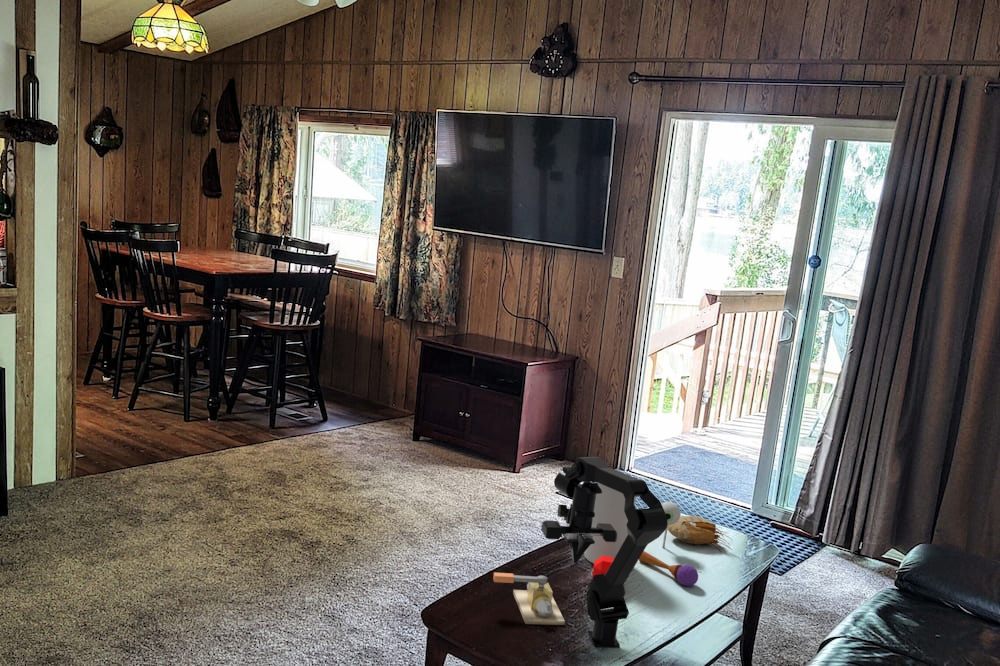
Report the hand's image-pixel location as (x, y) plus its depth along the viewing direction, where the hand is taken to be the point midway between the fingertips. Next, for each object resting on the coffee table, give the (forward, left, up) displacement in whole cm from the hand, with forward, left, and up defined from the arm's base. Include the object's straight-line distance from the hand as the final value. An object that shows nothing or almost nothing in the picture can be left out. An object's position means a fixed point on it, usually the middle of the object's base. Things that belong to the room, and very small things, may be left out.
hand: (574, 562), depth 221 cm
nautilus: (+47, -57, -13) cm, 75 cm away
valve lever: (0, +14, -6) cm, 15 cm away
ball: (+15, -15, -13) cm, 25 cm away
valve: (0, +8, -13) cm, 15 cm away
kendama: (+23, -37, -14) cm, 45 cm away
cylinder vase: (+32, -20, -13) cm, 40 cm away
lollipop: (+43, -43, -13) cm, 62 cm away
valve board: (0, +8, -13) cm, 15 cm away
